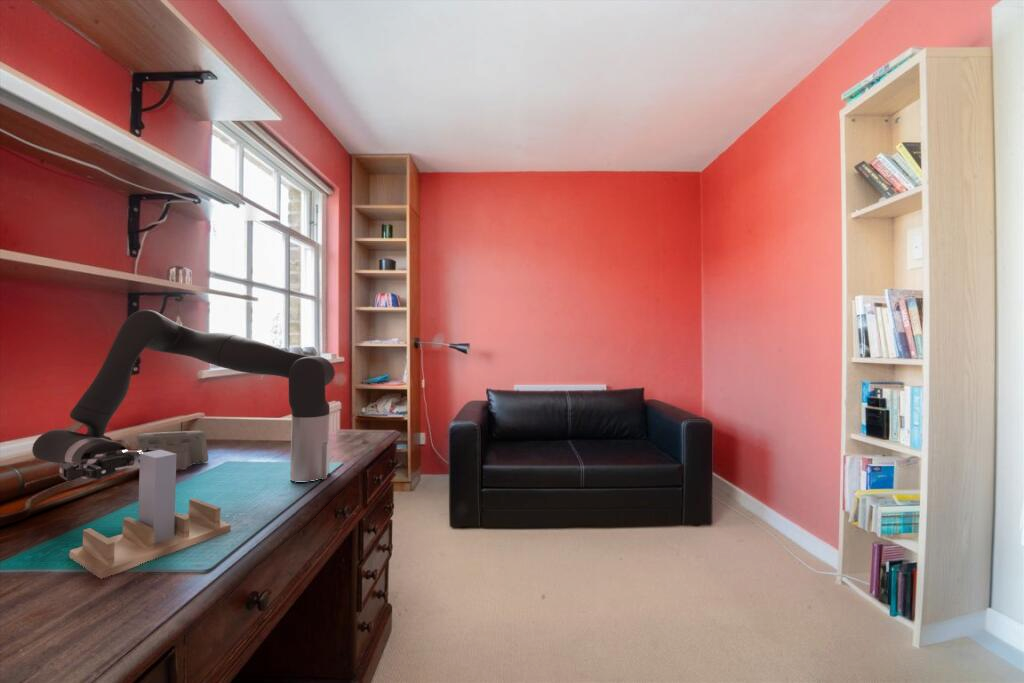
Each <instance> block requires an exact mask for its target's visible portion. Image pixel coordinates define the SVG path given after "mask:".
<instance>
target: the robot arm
mask: <svg viewBox="0 0 1024 683" xmlns="http://www.w3.org/2000/svg"><path fill="white" fill-rule="evenodd" d="M145 349H148V350H150V351H153V352H154V351H155V352H160V353H167V354H174V355H175V354H176V355H180V356H186V357H191V358H193V359H196V360H199V361H202V362H203V363H207V364H210V365H214V366H218V367H221V368H223V369H226V370H227V369H228V370H232V371H235V372H241V373H246V374H247V373H248V374H256V375H266V376H276V377H283V378H286V379H288V403H289V407H290V409H291V429H290V430H291V431H290V432H291V433H290V440H291V441H290V468H289V479H290V478H291V479H292V480H294V481H311V480H316V479H322V478H323V479H322V480H327V479H328V476H329V474H330V460H331V459H330V458H331V456H330V455H331V454H330V451H331V439H330V408H331V407H330V403H328V401H327V399H326V398H327V397H326V386H328V385H329V384H330V383H332V381H333V380H334V378H335V375H336V374H335V373H336V371H335V367H334V365H333V364H332V363H331V361H329V360H328V359H326V358H325V357H323V356H317V355H311V354H310V355H309V354H302V353H297V352H293V351H289V350H285V349H281V348H279V347H276V346H273V345H270V344H267V343H265V342H261V341H257V340H254V339H251V338H247V337H244V336H240V335H236V334H232V333H224V332H203V331H201V330H200V331H198V330H196V329H193V328H189V327H188V326H184V325H182V324H180V323H177V322H175V321H173V320H172V319H170V318H168V317H166V316H164V315H163V314H161V313H159V312H158V311H156V310H151V309H141V310H137V311H135V312H133V313H132V314H130V315H129V316H128V317H127V318H126V319H125V321H124V322H123V323H122V325H121V326H120V329H119V330H118V333H117V334H116V337H115V339H114V341H113V343H112V345H111V347H110V349H109V351H108V353H107V355H106V357H105V359H104V362H103V364H102V365H101V366H100V369H99V370H98V373H97V374H96V376H95V377H94V379H93V381H92V382H91V383H90V385H89V387H87V389H86V390H85V392H84V393H83V394H82V396H81V397H80V398H79V400H78V401H77V403H76V404H75V406H74V407H73V408H72V409H71V411H70V412H69V417H70V419H72V420H74V421H75V422H77V423H80V424H83V425H85V426H86V428H87V431H86V433H82V432H76V431H71V430H66V429H63V428H61V429H60V428H57V429H51V430H48V431H47V432H44V433H42V434H41V435H40V436H39V437H37V439H35V441H34V443H33V444H32V448H31V451H32V452H31V453H32V454H33V457H34V458H35V459H36V460H39V461H43V462H49V463H55V464H59V477H60V478H62V479H63V480H65V481H67V482H71V481H75V480H77V478H78V477H79V478H80V477H81V479H83V480H84V479H85V480H86V479H89V480H90V479H91V480H95V481H97V480H101V479H103V478H106V477H109V476H111V475H114V474H115V473H117V472H118V471H120V470H123V469H136V468H140V453H145V452H150V451H156V450H161V449H156V448H151V447H146V448H144V452H143V451H142V450H139V449H136V450H134V449H132V450H128V448H127V447H126V446H125V445H124V444H122V442H118V441H114V440H111V439H108V438H104V436H105V433H106V429H107V427H108V425H109V423H110V421H111V419H112V417H113V416H114V415H115V413H116V412H117V410H118V409H119V407H120V406H121V404H122V403H123V402H124V399H125V398H126V397H127V394H128V391H129V389H130V386H131V385H130V384H131V379H132V372H133V369H134V366H135V363H136V361H137V360H138V358H139V357H140V355H141V353H142V352H143V351H144V350H145ZM328 473H329V474H328ZM327 475H328V476H327Z"/></svg>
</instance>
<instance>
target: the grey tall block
mask: <svg viewBox="0 0 1024 683" xmlns="http://www.w3.org/2000/svg"><path fill="white" fill-rule="evenodd" d="M176 456H177V454H175V453H171V452H168V451H164V450H156V451H150V452H145V453H140V467H139V476H138V506H137V507H138V513H137V514H138V516H137V521H139V522H141V523H143V524H145V525H147V526H149V527H151V528H153V529H155V537H154V543H157V542H160V541H163V540H166V539H169V538H172V537H174V523H175V512H176V484H177V483H176V482H177V477H176V476H177V470H176Z"/></svg>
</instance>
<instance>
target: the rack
mask: <svg viewBox="0 0 1024 683" xmlns="http://www.w3.org/2000/svg"><path fill="white" fill-rule="evenodd" d="M221 510H222V509H221V507H219V506H216V505H213V504H211V503H208V502H206V501H204V500H203V501H202V500H200V499H198V498H194V497H193V498H189V501H188V513H185V514H182V513H179V512H176V511H175V523H174V537H172V538H169V539H166V540H163V541H160V542H157V543H154V537H155V529H153V528H151V527H149V526H147V525H145V524H143V523H141V522H139V521H138V519H137V520H136V519H134V518H132V517H131V516H128V517H127V516H126V517H123V518H122V533H121V534H117V535H114V536H110V537H106V536H105V535H103V534H102V533H99V532H98V531H96V530H95V529H93V528H91V527H90V528H86V529H83V530H82V545H81V546H79V547H77V548H72V549H70V550H69V557H70V558H69V559H71V560H72V559H73V560H72V561H74V562H75V561H76V562H75V563H77V562H78V563H79V564H80V565H79V564H78V563H77V564H78V565H79V566H81V565H82V566H83V567H82V566H81V567H82V568H84V567H85V568H86V569H85V568H84V569H85V570H87V569H88V570H89V571H90V573H91V572H92V573H93V574H92V573H91V574H92V575H93V576H95V575H96V576H97V578H98V577H99V578H104V579H106V578H108V576H109V577H111V575H112V576H114V575H117V574H120V573H122V572H125V571H128V570H129V569H133V568H135V567H137V566H140V564H141V565H143V564H146V563H148V562H147V561H149V562H151V561H154V560H156V559H155V558H157V559H159V558H162V557H164V556H163V555H165V556H167V555H170V554H172V553H175V552H177V551H181V550H183V549H186V548H188V547H189V548H190V546H194V545H196V544H199V543H202V542H204V541H207V540H210V539H212V538H216V537H217V536H220V535H223V534H225V533H228V532H230V531H231V523H227V521H226V522H225V521H223V520H221ZM161 556H162V557H161ZM158 557H159V558H158ZM153 559H154V560H153ZM150 560H151V561H150ZM145 562H146V563H145ZM142 563H143V564H142ZM88 570H87V571H88ZM89 571H88V572H89ZM96 576H95V577H96ZM105 577H106V578H105ZM99 578H98V579H99Z"/></svg>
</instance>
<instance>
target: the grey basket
mask: <svg viewBox="0 0 1024 683" xmlns="http://www.w3.org/2000/svg"><path fill="white" fill-rule="evenodd" d="M136 444H137V448H138V449H137V450H142V451H143V452H144V448H146V447H151V448H156V449H161V450H164V451H168V452H171V453H175V454H177V456H176V469H183V468H186V467H188V466H189V465H191V464H193V463H203V464H205V463H204V462H206V463H207V462H208V461H209V453H208V445H207V439H206V433H205V431H203V430H186V431H185V430H184V431H166V432H165V431H164V432H149V433H148V432H145V433H140V434H139V433H138V435H137V436H136ZM193 465H194V464H193Z"/></svg>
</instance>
